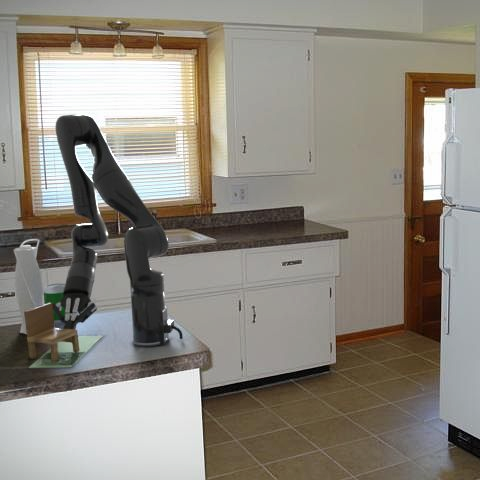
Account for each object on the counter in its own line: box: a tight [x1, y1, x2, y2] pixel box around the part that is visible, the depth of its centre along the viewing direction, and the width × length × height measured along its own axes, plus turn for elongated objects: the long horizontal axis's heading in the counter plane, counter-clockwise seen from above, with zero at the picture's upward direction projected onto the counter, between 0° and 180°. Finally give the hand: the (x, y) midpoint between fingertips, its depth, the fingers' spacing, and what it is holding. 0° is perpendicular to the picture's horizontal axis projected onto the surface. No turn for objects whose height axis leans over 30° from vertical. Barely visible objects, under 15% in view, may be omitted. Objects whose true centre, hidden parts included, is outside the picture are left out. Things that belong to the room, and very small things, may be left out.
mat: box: [28, 334, 104, 369], centre depth 200 cm, size 11×28×1 cm, turn 0°
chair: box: [24, 303, 80, 362], centre depth 195 cm, size 9×9×13 cm
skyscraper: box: [13, 238, 44, 335], centre depth 216 cm, size 8×8×28 cm
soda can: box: [43, 282, 66, 326], centre depth 227 cm, size 8×8×12 cm
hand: (68, 334), depth 200 cm, fingers closed
